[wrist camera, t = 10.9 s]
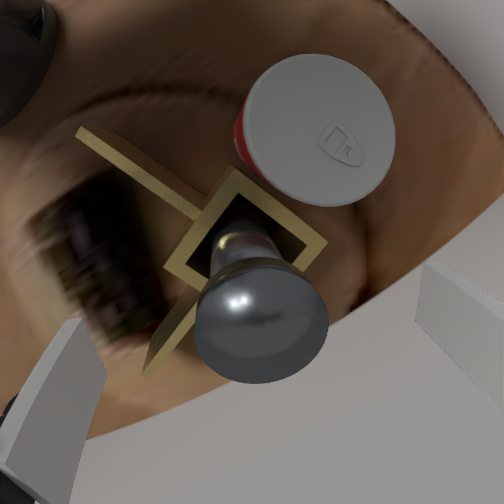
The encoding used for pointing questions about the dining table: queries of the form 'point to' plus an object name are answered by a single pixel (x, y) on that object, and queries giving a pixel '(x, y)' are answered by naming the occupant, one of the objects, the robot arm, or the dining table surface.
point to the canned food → (316, 130)
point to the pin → (256, 306)
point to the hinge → (199, 229)
